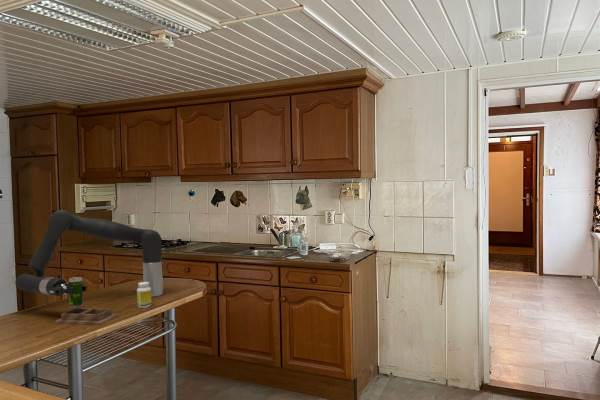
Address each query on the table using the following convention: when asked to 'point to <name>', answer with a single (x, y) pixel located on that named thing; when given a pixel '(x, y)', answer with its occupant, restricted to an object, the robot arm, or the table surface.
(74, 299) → the beer can
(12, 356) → the table surface
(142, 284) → the pill bottle
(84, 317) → the rack
